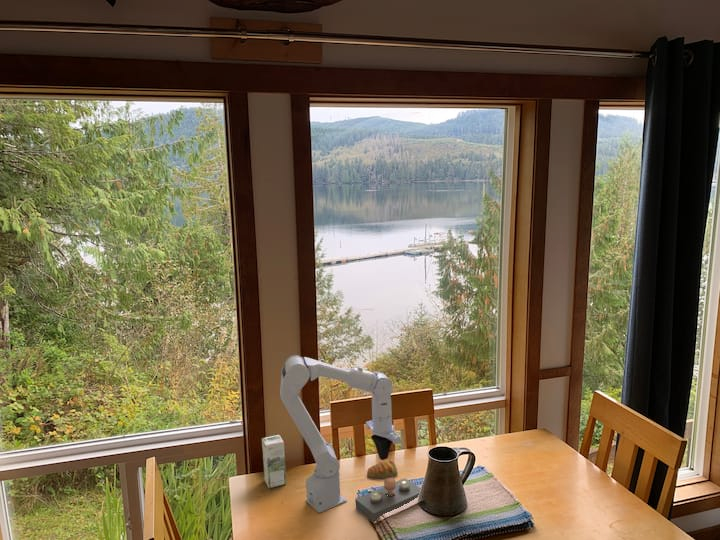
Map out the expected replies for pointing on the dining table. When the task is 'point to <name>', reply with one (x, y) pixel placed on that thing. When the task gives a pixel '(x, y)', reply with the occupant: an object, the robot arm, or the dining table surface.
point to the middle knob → (390, 486)
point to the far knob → (403, 485)
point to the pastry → (383, 470)
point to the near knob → (375, 497)
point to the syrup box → (274, 461)
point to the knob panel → (386, 501)
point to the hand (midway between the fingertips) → (383, 458)
